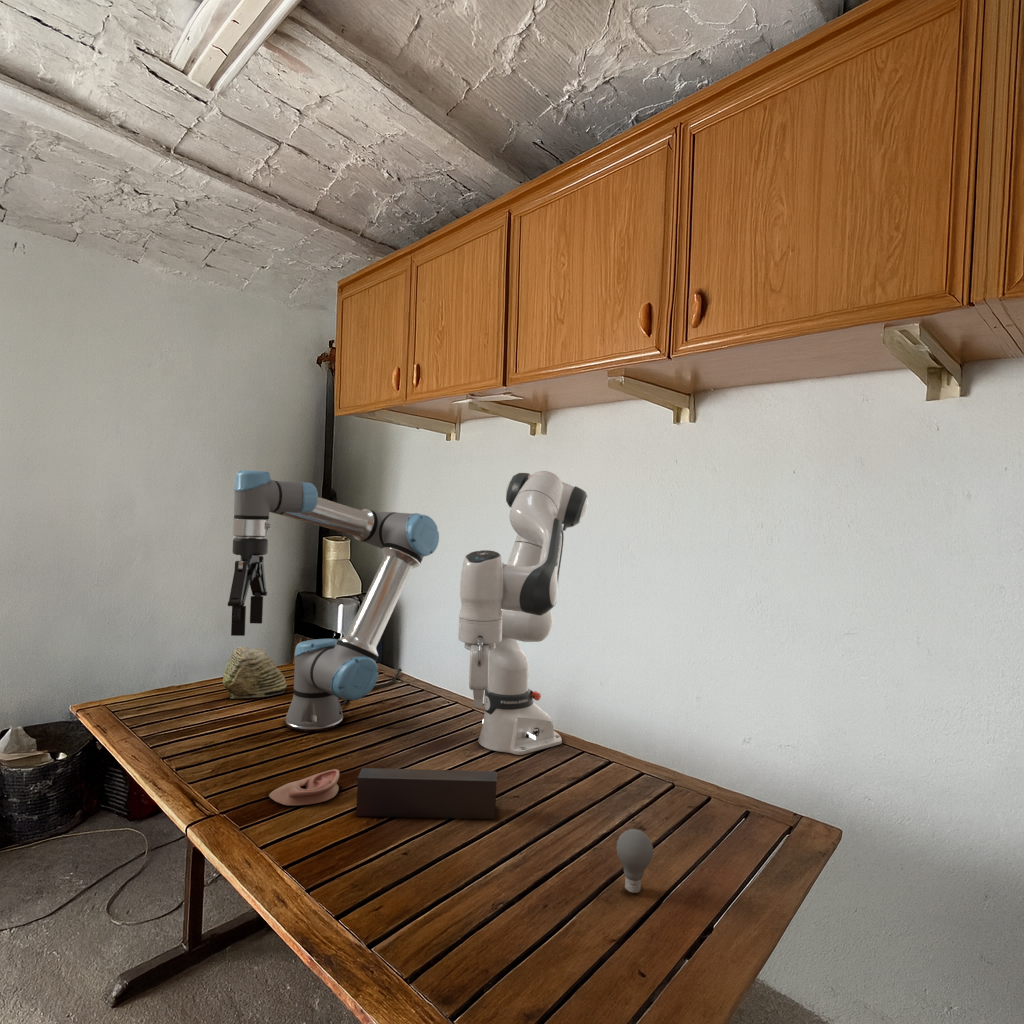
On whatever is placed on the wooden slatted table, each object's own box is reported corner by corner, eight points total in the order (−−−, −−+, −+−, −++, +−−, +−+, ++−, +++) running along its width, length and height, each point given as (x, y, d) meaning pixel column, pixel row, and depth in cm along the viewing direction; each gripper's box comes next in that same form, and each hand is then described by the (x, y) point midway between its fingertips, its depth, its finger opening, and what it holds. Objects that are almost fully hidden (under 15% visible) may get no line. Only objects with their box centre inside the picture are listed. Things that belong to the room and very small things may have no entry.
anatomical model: (261, 782, 130) (291, 760, 141) (260, 801, 130) (290, 778, 141) (320, 791, 127) (346, 768, 139) (319, 811, 127) (345, 786, 139)
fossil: (218, 695, 195) (220, 647, 195) (278, 685, 208) (279, 640, 207) (228, 703, 189) (230, 653, 188) (289, 692, 201) (290, 645, 201)
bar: (356, 816, 126) (357, 777, 126) (360, 805, 131) (362, 767, 131) (495, 819, 127) (496, 781, 127) (494, 808, 132) (496, 771, 132)
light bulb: (610, 879, 108) (613, 822, 108) (644, 879, 109) (647, 822, 109) (619, 902, 102) (622, 840, 102) (655, 901, 103) (658, 840, 103)
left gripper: (251, 541, 134) (247, 641, 134) (281, 534, 159) (278, 619, 159) (214, 540, 133) (210, 640, 134) (250, 533, 158) (247, 618, 158)
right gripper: (496, 643, 118) (494, 716, 119) (495, 621, 139) (493, 683, 139) (463, 643, 118) (460, 716, 119) (466, 620, 139) (464, 683, 139)
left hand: (247, 629), depth 146 cm, fingers open, 13 cm apart
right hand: (478, 698), depth 129 cm, fingers open, 8 cm apart
